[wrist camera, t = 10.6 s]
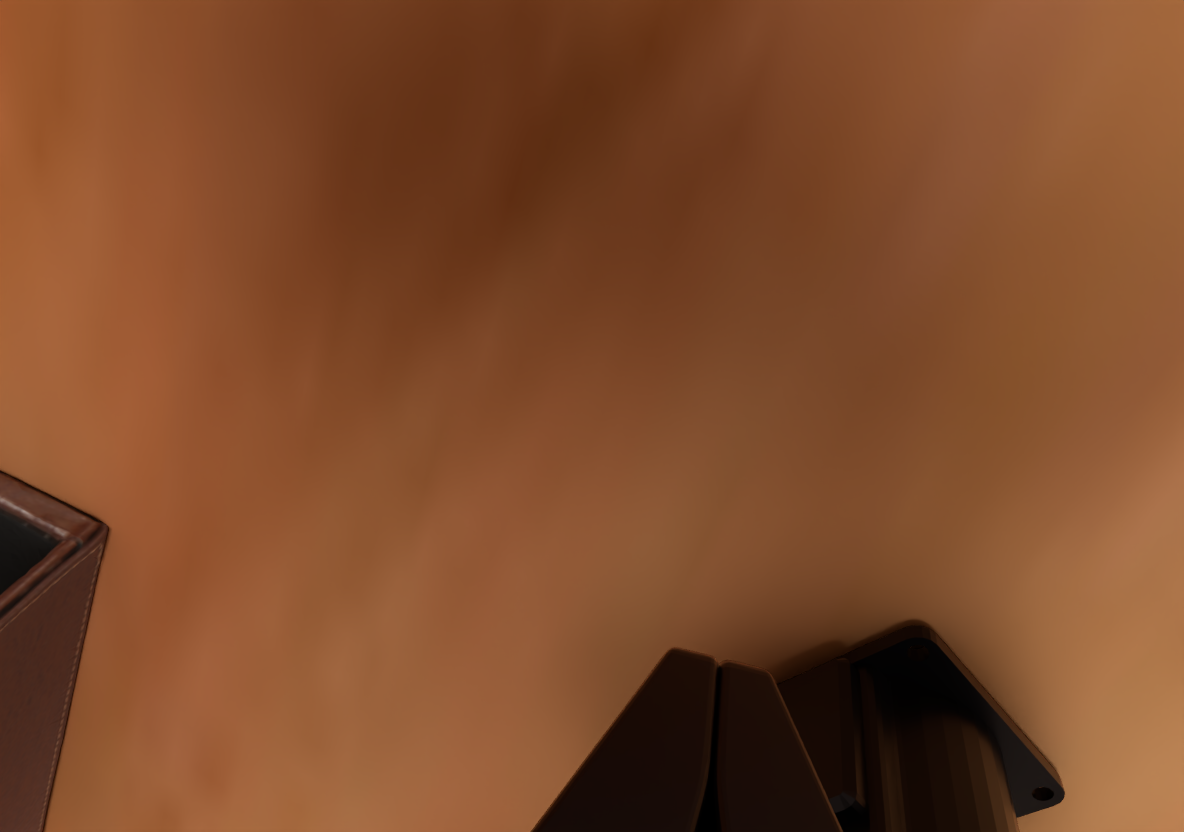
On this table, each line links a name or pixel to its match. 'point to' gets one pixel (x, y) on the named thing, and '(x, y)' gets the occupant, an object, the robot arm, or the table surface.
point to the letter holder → (39, 639)
